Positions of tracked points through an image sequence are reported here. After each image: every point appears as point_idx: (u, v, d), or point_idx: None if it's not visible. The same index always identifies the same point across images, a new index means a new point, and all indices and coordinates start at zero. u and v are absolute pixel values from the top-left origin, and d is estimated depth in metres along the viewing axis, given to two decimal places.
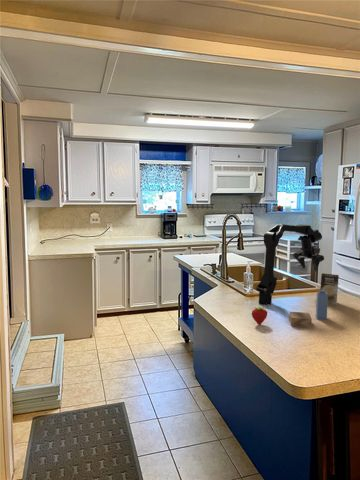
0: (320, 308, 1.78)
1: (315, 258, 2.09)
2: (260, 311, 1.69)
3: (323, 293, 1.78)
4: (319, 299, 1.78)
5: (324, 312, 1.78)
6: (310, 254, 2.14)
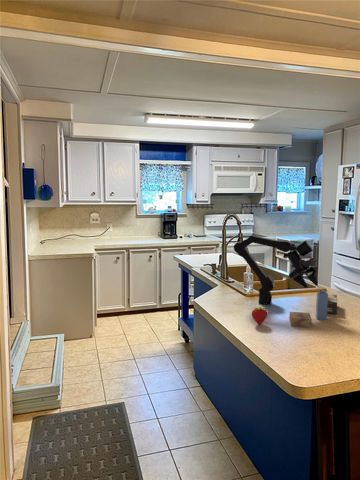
0: (320, 308, 1.78)
1: None
2: (260, 311, 1.69)
3: (323, 293, 1.78)
4: (319, 299, 1.78)
5: (324, 312, 1.78)
6: None
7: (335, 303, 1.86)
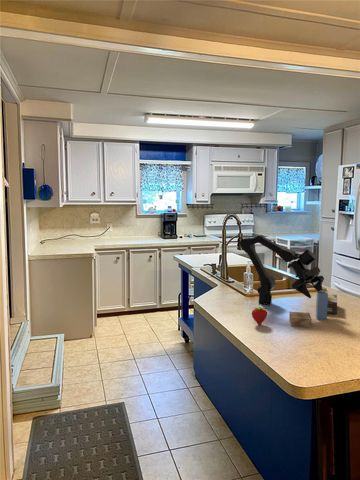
0: (320, 308, 1.78)
1: None
2: (260, 311, 1.69)
3: (323, 293, 1.78)
4: (319, 299, 1.78)
5: (324, 312, 1.78)
6: None
7: (335, 303, 1.86)
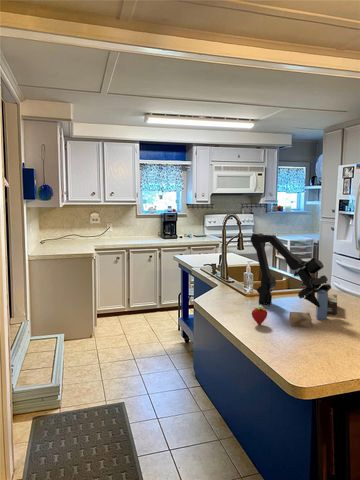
0: (320, 308, 1.78)
1: None
2: (260, 311, 1.69)
3: (323, 293, 1.78)
4: (319, 299, 1.78)
5: (324, 312, 1.78)
6: None
7: (335, 303, 1.86)
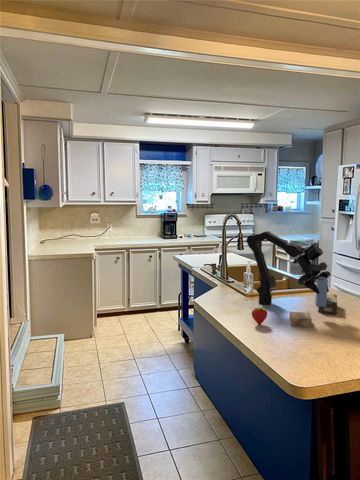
0: (320, 294, 1.77)
1: None
2: (260, 311, 1.69)
3: (323, 280, 1.77)
4: (319, 286, 1.77)
5: (323, 298, 1.77)
6: None
7: (335, 303, 1.86)
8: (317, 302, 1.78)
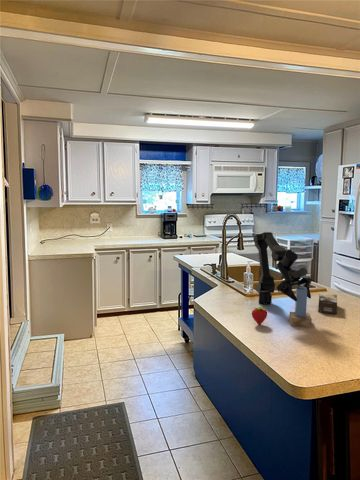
0: (299, 304, 1.71)
1: None
2: (260, 311, 1.69)
3: (302, 289, 1.70)
4: (298, 295, 1.70)
5: (303, 308, 1.70)
6: None
7: (335, 303, 1.86)
8: (297, 312, 1.71)
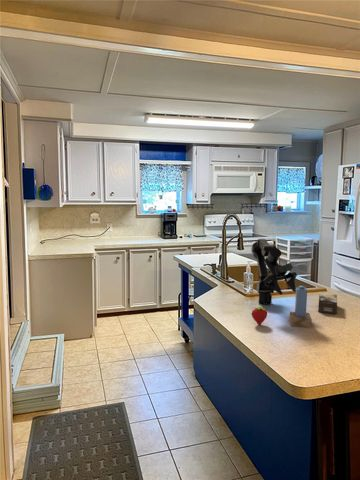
0: (299, 304, 1.71)
1: None
2: (260, 311, 1.69)
3: (302, 289, 1.70)
4: (298, 295, 1.70)
5: (303, 308, 1.70)
6: None
7: (335, 303, 1.86)
8: (297, 312, 1.71)
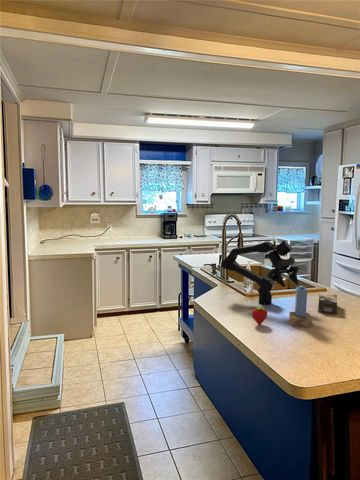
0: (299, 304, 1.71)
1: None
2: (260, 311, 1.69)
3: (302, 289, 1.70)
4: (298, 295, 1.70)
5: (303, 308, 1.70)
6: None
7: (335, 303, 1.86)
8: (297, 312, 1.71)
